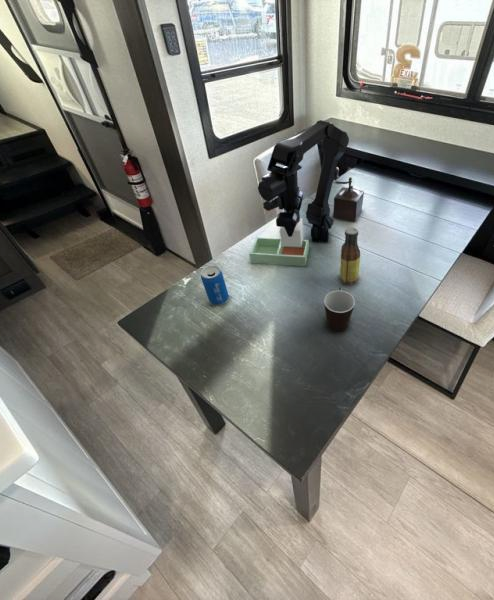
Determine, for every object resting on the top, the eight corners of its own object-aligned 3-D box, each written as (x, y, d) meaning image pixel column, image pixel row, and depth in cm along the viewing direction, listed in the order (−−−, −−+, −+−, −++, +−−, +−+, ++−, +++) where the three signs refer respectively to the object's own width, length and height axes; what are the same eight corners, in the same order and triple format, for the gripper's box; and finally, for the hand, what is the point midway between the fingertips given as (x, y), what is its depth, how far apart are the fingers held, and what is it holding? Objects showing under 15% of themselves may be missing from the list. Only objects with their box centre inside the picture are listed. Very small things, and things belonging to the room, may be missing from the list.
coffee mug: (343, 339, 90) (346, 317, 83) (318, 327, 94) (318, 305, 87) (360, 313, 97) (364, 290, 90) (336, 303, 100) (337, 280, 93)
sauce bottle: (360, 276, 109) (366, 227, 95) (354, 287, 105) (360, 238, 91) (342, 271, 111) (346, 223, 97) (336, 282, 107) (339, 233, 93)
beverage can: (212, 309, 100) (202, 281, 92) (207, 296, 104) (197, 269, 96) (231, 302, 102) (224, 274, 94) (225, 290, 106) (217, 262, 98)
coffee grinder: (363, 209, 140) (367, 169, 127) (355, 222, 133) (359, 181, 120) (330, 203, 145) (332, 164, 132) (321, 215, 138) (322, 175, 125)
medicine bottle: (303, 234, 113) (302, 205, 104) (301, 247, 109) (299, 217, 100) (284, 234, 114) (281, 205, 105) (281, 246, 109) (277, 217, 100)
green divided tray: (257, 245, 123) (256, 236, 120) (308, 248, 121) (308, 239, 118) (251, 262, 116) (249, 253, 113) (305, 266, 114) (305, 257, 111)
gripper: (269, 173, 104) (274, 214, 115) (256, 201, 91) (263, 245, 103) (302, 173, 103) (304, 215, 114) (294, 202, 90) (296, 246, 101)
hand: (291, 230), depth 108 cm, fingers closed on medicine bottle, 7 cm apart
